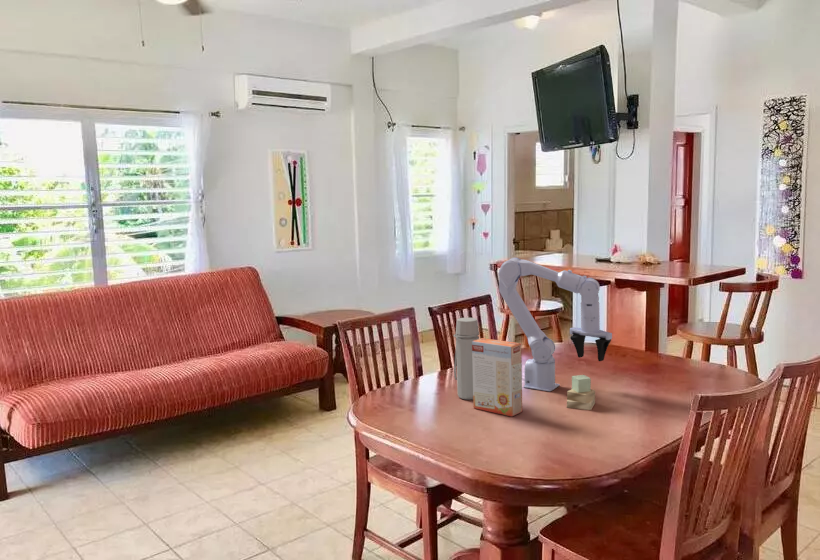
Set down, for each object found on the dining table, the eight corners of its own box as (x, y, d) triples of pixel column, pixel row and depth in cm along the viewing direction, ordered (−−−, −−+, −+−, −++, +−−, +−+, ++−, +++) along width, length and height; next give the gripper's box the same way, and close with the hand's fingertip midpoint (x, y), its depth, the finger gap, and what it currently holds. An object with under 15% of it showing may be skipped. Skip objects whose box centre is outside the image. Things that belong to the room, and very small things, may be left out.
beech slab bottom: (566, 409, 200) (566, 401, 200) (571, 402, 206) (571, 394, 206) (590, 411, 197) (590, 403, 197) (594, 404, 203) (594, 396, 203)
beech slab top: (567, 399, 201) (567, 391, 201) (577, 394, 205) (577, 386, 205) (585, 403, 197) (585, 395, 197) (595, 398, 201) (595, 390, 201)
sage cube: (571, 388, 203) (571, 376, 202) (583, 387, 204) (583, 374, 203) (578, 392, 199) (578, 379, 198) (590, 391, 200) (590, 378, 199)
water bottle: (485, 396, 214) (484, 318, 210) (470, 402, 208) (468, 322, 205) (462, 390, 220) (461, 315, 217) (447, 396, 214) (445, 319, 211)
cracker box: (523, 412, 197) (522, 342, 194) (512, 417, 193) (511, 346, 190) (484, 403, 206) (483, 336, 204) (472, 408, 202) (471, 340, 199)
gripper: (563, 316, 216) (564, 357, 217) (602, 321, 205) (603, 364, 206) (576, 313, 220) (577, 353, 222) (615, 317, 209) (616, 360, 211)
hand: (590, 358), depth 214 cm, fingers open, 7 cm apart
